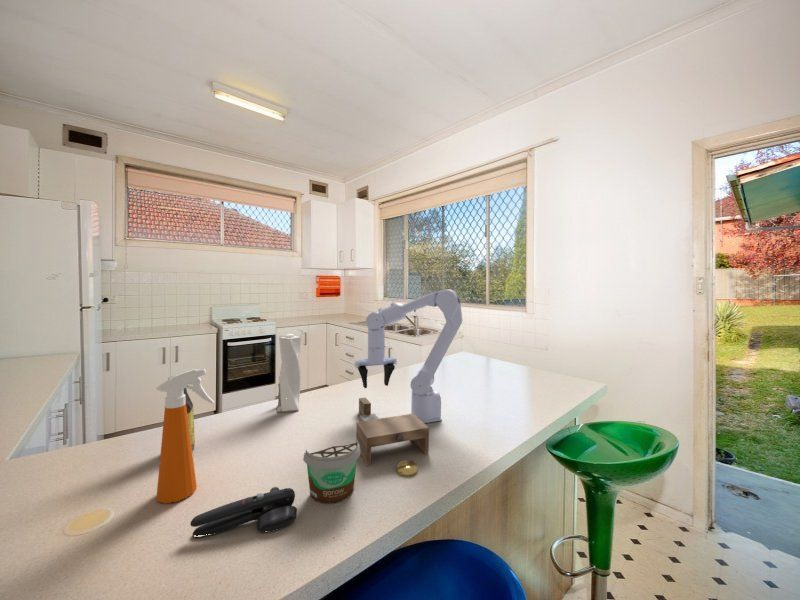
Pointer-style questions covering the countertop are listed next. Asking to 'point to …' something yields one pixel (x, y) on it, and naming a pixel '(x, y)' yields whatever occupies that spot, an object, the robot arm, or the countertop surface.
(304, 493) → the countertop surface
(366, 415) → the putty knife
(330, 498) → the food container
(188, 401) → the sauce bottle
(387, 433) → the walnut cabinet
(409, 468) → the brass token
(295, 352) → the skyscraper
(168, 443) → the spray bottle
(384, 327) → the robot arm
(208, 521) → the can opener
